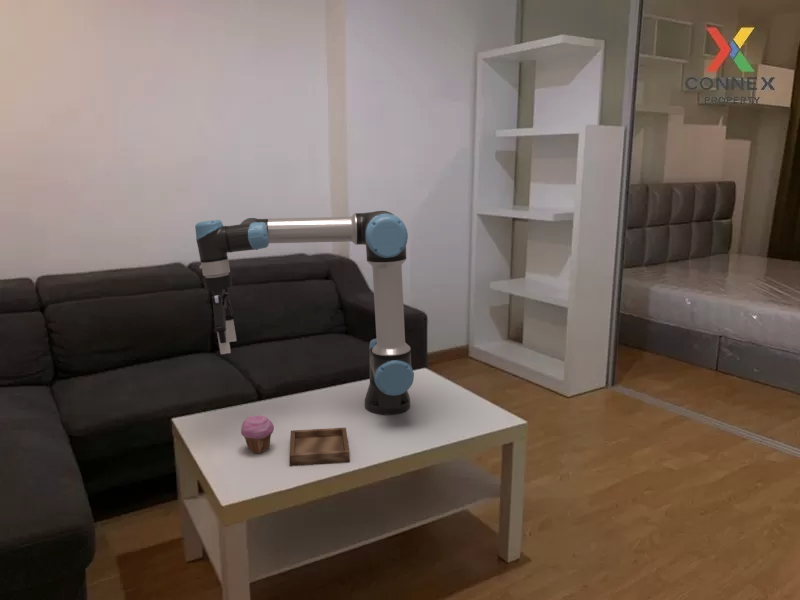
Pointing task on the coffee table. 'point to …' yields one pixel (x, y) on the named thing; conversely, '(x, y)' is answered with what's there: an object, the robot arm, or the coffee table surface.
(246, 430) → the cupcake
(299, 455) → the serving tray
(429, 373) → the coffee table surface
